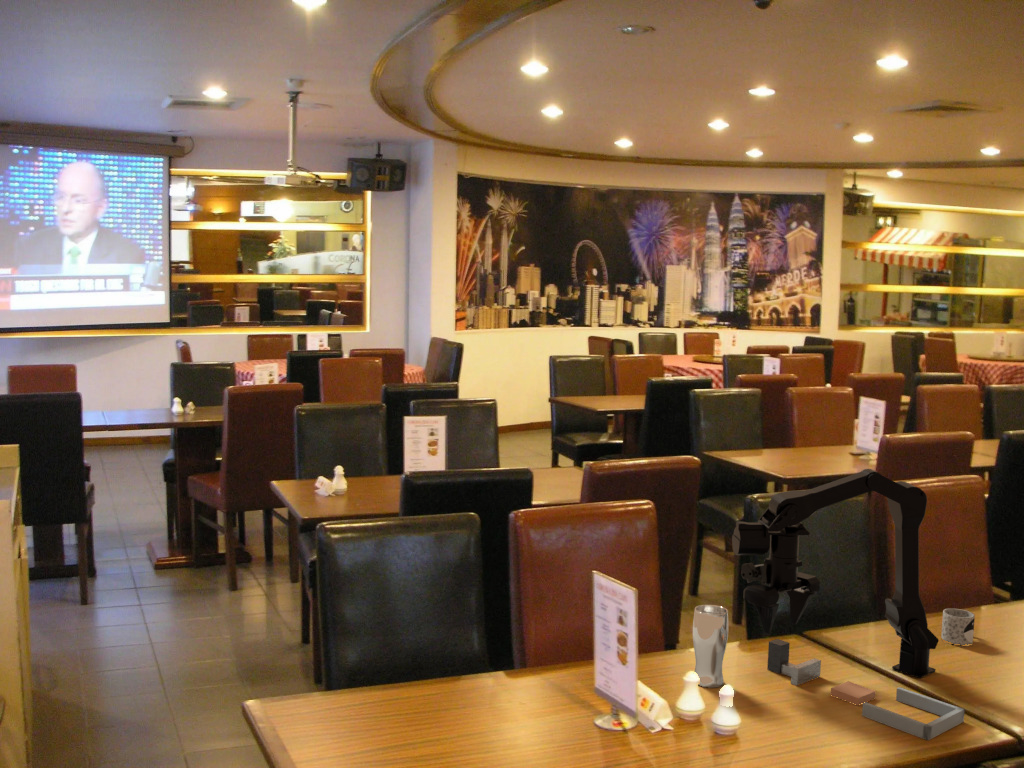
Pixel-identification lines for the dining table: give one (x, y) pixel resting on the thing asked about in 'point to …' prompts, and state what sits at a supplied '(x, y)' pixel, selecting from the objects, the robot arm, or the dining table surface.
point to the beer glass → (710, 643)
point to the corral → (926, 731)
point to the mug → (958, 626)
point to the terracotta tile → (853, 693)
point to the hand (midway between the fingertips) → (780, 628)
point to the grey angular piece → (781, 665)
